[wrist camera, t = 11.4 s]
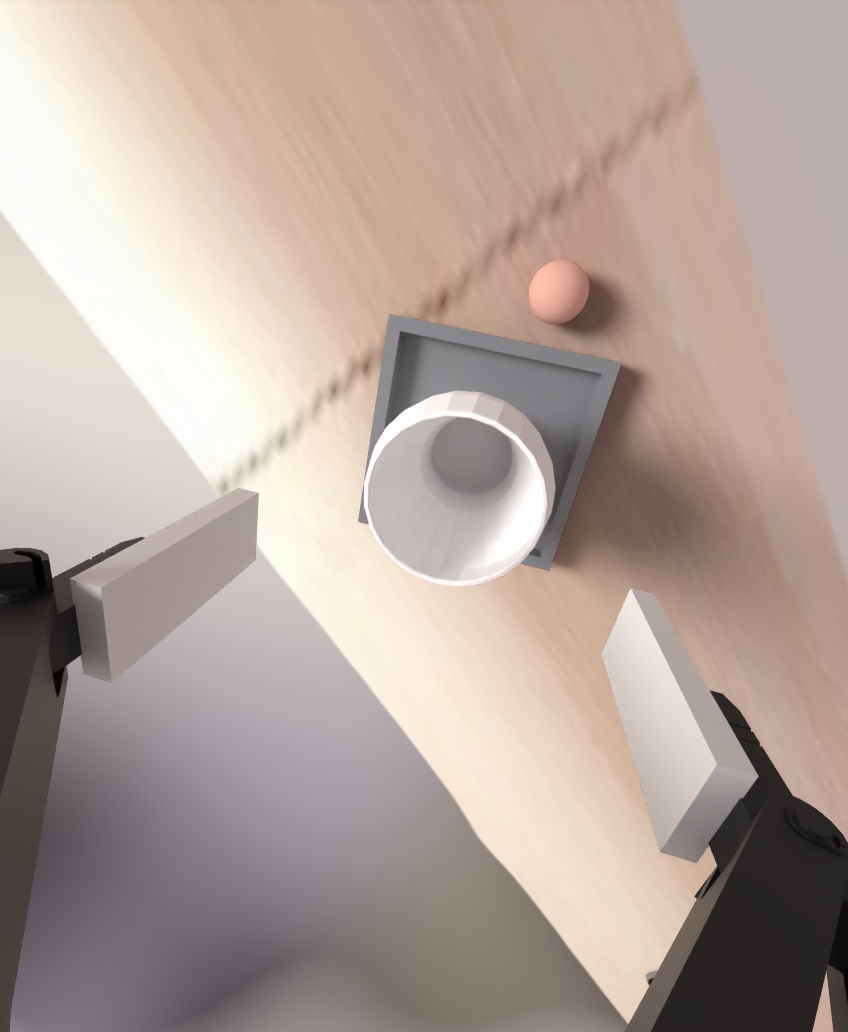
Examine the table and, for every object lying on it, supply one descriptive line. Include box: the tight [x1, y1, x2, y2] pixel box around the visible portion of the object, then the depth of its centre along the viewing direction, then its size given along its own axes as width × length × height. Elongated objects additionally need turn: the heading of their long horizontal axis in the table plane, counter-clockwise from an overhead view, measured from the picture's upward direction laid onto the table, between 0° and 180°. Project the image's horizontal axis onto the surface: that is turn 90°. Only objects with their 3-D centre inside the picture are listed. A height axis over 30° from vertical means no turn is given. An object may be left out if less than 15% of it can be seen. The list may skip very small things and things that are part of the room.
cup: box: [364, 391, 556, 586], centre depth 30 cm, size 11×11×15 cm
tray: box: [358, 314, 622, 571], centre depth 36 cm, size 17×17×2 cm
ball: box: [529, 259, 589, 324], centre depth 31 cm, size 4×4×4 cm
